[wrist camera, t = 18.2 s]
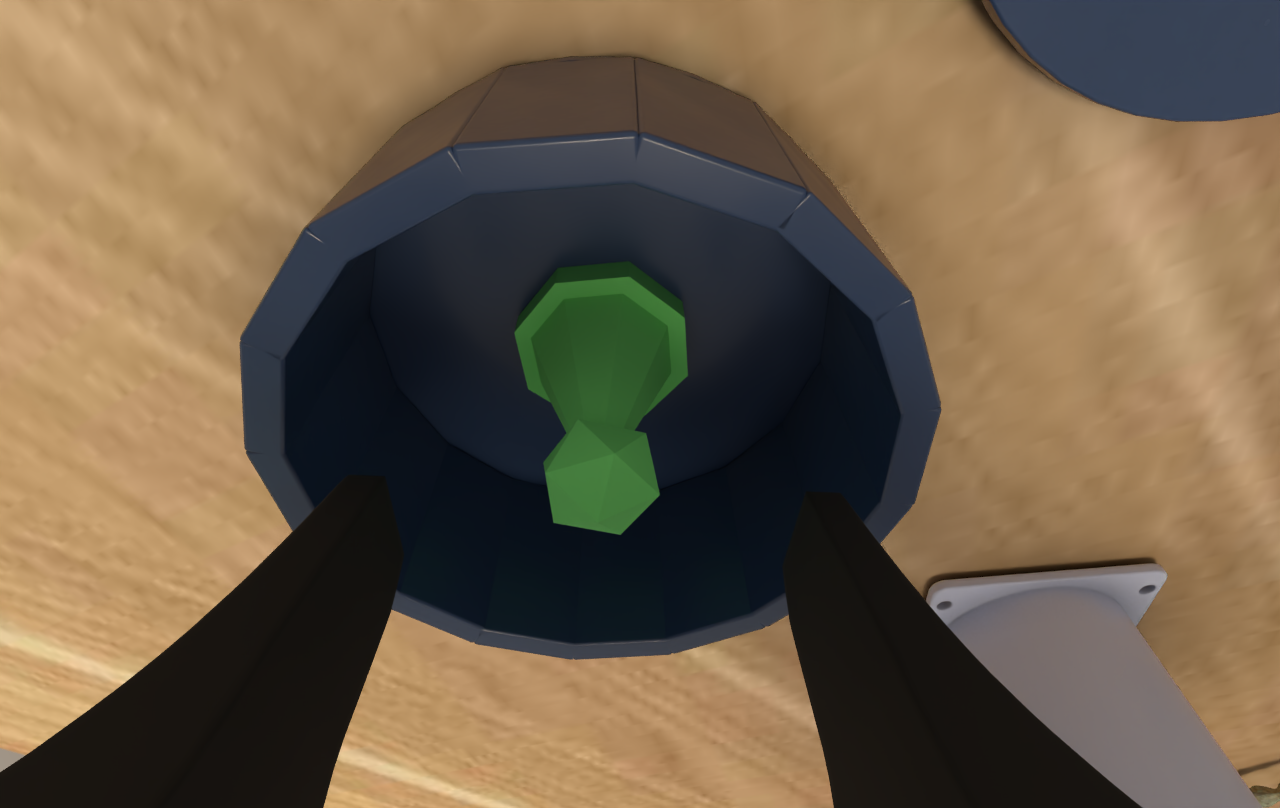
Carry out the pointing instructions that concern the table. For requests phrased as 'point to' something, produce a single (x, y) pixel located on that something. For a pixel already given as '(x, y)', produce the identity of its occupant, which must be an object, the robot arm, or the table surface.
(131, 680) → the robot arm
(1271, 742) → the table surface
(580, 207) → the pan
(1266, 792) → the soupspoon
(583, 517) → the game piece
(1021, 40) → the pan lid
